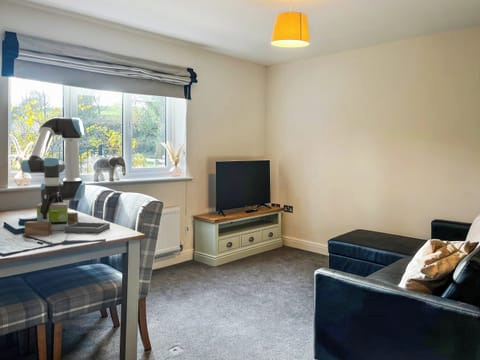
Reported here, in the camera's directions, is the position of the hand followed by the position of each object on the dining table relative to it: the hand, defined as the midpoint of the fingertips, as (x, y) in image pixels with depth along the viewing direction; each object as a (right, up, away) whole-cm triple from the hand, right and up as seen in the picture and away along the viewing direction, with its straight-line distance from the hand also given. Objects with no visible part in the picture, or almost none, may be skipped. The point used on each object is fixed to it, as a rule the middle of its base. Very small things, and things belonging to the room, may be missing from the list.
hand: (53, 222), depth 217 cm
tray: (+20, -4, -1) cm, 20 cm away
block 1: (-1, -5, -14) cm, 15 cm away
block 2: (+1, -3, +14) cm, 15 cm away
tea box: (0, -4, 0) cm, 4 cm away
